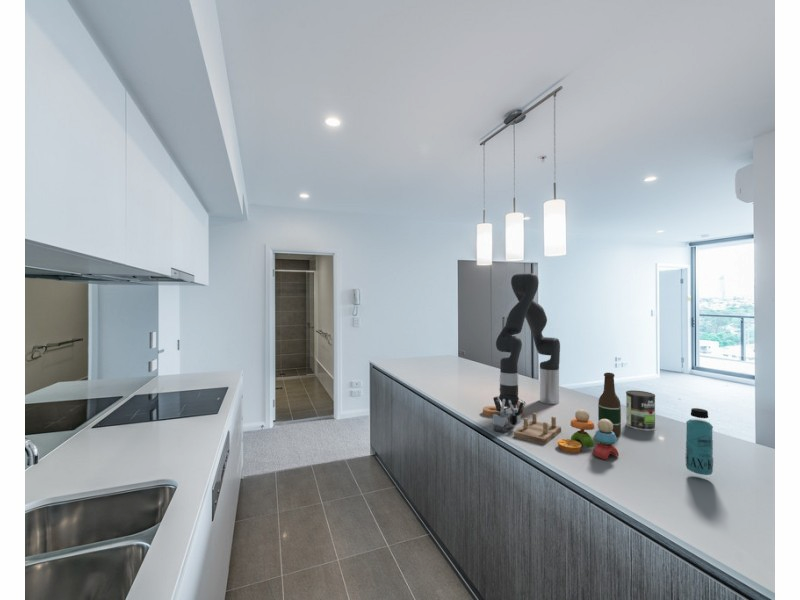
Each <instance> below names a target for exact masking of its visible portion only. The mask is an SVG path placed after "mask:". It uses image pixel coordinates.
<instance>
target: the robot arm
mask: <svg viewBox="0 0 800 600" xmlns="http://www.w3.org/2000/svg"><path fill="white" fill-rule="evenodd" d="M539 283H540V282H539V277H538V275H537V274H536V273H533V272H532V273H530V272H529V273H527V272H526V273H516V274H514V275H512V277H511V279H510V284H511V289H512V291H513V293H514V295H515V297H516V299H517V301H518V302H517V303H516V304H515V305H514V306H513V307H512V308H511V310H510V311H509V313H508V315H507V319H506V323H505V325H504V327H503V328H502V330H501V331H500V333H499V335H498V336H497V338H496V341H495V347H496V350H498V351H499V352H502V353H510V354H509V356H507V357H502V358H501V359H500V364H499V365H500V366H499V367H500V368H499V369H500V370H499V372H500V374H499V395H497V396H495V397H493V403H494V407H496V410H497V411H499V412H503V411H505V410H506V408H507V407H510V408H511V411H512V414H513V416H512V424H513V425H515V424H516V423H517V416H519V415H521V414H522V412H523V413H524V408H525V405H526V401H524V400H522V399H520V397H519V374H518V373H519V371H518V366H519V365H518V363H519V357H520V355H521V350H522V348H523V343H522V340H521V338H520V337H519V336H517V335H519V334H520V333H521V332H522V330H523V327H524V322H525V320H526V322H527V324H528V325H527V326H528V327H529V329H530V332H531V334H532V337H533V341H534V346H535V348H536V351H537V353H538V354H539V355H542V356H550V358H549V359H548V360H546V361H545V360H544V361H541V362H540V363H539V401H540V402H541V403H543V404H547V405H557V404H560V362H561V360H560V359H561V358H560V356H561V353H560V352H561V341H560V340H559V338H557V337H547V336H543V332H544V330H545V327H546V325H547V323H548V318H547V315H546V312H545V310H544V308H543V306H541V304H540V303H538V302H537V301H536V300H535V299H534V298H535V296H536V294H537V291H538V288H539ZM515 335H516V336H515ZM521 400H522V401H523V402H522V401H521ZM517 403H519V409H518V411H517V406H516V404H517Z"/></svg>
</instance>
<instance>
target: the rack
mask: <svg viewBox="0 0 800 600" xmlns="http://www.w3.org/2000/svg"><path fill="white" fill-rule="evenodd" d="M531 414H532V420H530V421H529V420H528V418H527V417H524V418H523V425H522V426H521V427H518V429H515V430H514V431H513V438H517V439H520V440H525V441H529V442H533V443H536V444H540V445H543V446H545V445H547V444H548V443H549V442H550V441H552V440H553V439H554V438H555V437H557V435H559V434H560V433H562V426H558V425H557V420H556V419H557V417H556V416H551V417H550V418H551V423H548V422H546V421H544V422H541V421H537V413H536V412H532V413H531Z"/></svg>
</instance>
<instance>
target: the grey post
mask: <svg viewBox="0 0 800 600" xmlns="http://www.w3.org/2000/svg"><path fill="white" fill-rule="evenodd" d="M518 409H519V408H517V411H518ZM512 416H513V414H512V411H511V408H509V409H507V410H505V411H503V412H501V413H499V414H494V415H493V417H492V431H493V432H495V433H496V434H497V433H498V434H507V433H509V431H510V430H511V429H512V428H514V427H516V426H518V425H519V424H520V423H521V418H522V417H521V415H519V416H517V423H516V424H515V425H513V424H512Z"/></svg>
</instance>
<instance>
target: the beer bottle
mask: <svg viewBox="0 0 800 600" xmlns="http://www.w3.org/2000/svg"><path fill="white" fill-rule="evenodd" d="M603 376H604V383H603V392H602V394H601V395H600V396H599V398H598V403H597V404H598V408H597V409H598V411H597V413H598V414H597V416H598V422H599V421H600V420H601V419H608V420H609V421H611V422H612V424H613V430H612V431H613V432H614V434H615V436H616V437H619V436H620V435H621V432H622V424H621V423H622V419H621V417H622V414H621V413H622V410H621V409H622V408H621V407H622V406H621V400H620V398H619V396H618V395H617V394H616V390H615V389H616V388H615V386H616V385H615V377H616V376H615V373H613V372H605V373H604V374H603ZM598 422H597V423H598Z"/></svg>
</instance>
